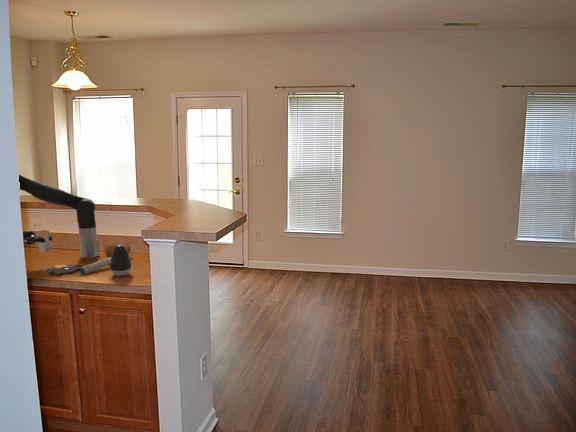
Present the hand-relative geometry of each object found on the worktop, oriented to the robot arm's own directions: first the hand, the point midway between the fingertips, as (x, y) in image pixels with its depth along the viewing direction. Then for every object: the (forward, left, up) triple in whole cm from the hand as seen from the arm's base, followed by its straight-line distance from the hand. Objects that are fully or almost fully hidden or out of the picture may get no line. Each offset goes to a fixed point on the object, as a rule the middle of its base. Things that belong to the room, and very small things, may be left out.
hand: (47, 239), depth 253 cm
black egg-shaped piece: (-17, +41, -15) cm, 47 cm away
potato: (-33, +12, -15) cm, 38 cm away
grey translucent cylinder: (+1, -3, -7) cm, 7 cm away
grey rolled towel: (-17, +24, -16) cm, 33 cm away
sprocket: (-2, +12, -15) cm, 20 cm away
